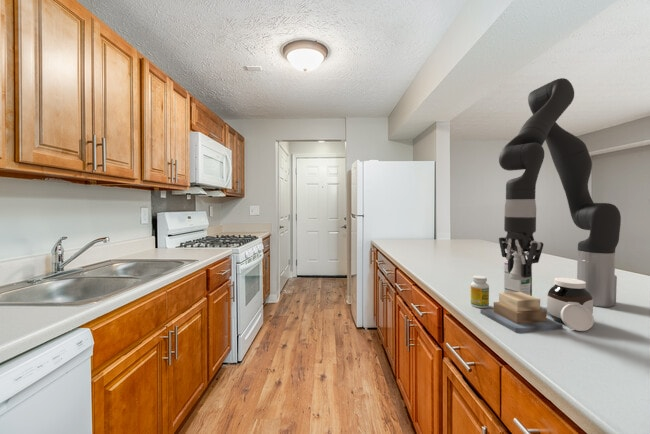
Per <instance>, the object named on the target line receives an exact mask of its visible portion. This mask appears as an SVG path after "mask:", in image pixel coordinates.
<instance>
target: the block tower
mask: <svg viewBox="0 0 650 434" xmlns="http://www.w3.org/2000/svg"><path fill="white" fill-rule="evenodd" d="M547 313H548V311H547V310H546V309H543V308H541V299H540V298H538V297H536V296H533V295H532V296H530V295H527V294H525V293H522V292H512V293H504V292H499V293H498V301H494V302H493V308H488V309H487V308H484V309H480V314H481V315H483V316H485V317H487V318H489V319H490V320H492V321H494V322H496V323H498V324H500V325H501V326H503V327H505V328H507V329H509V330H510V331H512V332H514V333H524V332H534V331H547V330H548V331H549V330H561V329H563V328H564V327H563V326H564V324H563V323H560V322H558V321H556V320H554V319H553V320H552V319H550V318H548V317H547Z"/></svg>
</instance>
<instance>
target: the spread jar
mask: <svg viewBox="0 0 650 434" xmlns="http://www.w3.org/2000/svg"><path fill="white" fill-rule="evenodd" d="M585 288H586V282H584V281H582V280H578V279H577V278H573V277H572V278H571V277H555V278H554V285H553V286H551V288H550V289H549V290H548V292H547V297H546V298H547V299H546V311H547V314H548V315H549V317H551V319H553V321H555V322H557V323H560V324H562V325H565V326H566V327H568V328H569V329H570V330H574V331H579V332H584V331H588V330H589V329H591V328H592V327H593V325H594V324H595V319H594V314H593V313H594V305H593V298H592V295H591V294H590V293H589V291H587V290H586V289H585Z"/></svg>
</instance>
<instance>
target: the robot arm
mask: <svg viewBox="0 0 650 434" xmlns="http://www.w3.org/2000/svg"><path fill="white" fill-rule="evenodd" d="M527 96H528V97H527V103H528V107H529V109H530V112H531V114H532V115H531V116H530V117H529V118H528V119H527V120H526V121H525V123H523V125H522V126H521V128H520V130H519V132H518V134H517V135H516V136H514V137H513V139H512V140H510V141H509V142H508V143H507V144H506V145H505V146H504V147H503V148H502V150H501V151H500V153H499V156H498V163H499V166H500V167H501V168H502V169H503V170H505V171H510V172H511V171H512V172H513V171H522V170H524V172H523V173H522V174H521V175H520V176H518V177H515V178H514V177H513V178H511V179H509V180H507V181H506V184H505V204H504V219H503V220H504V223H503V224H504V227H503V228H504V229H503V230H504V232H506V233H507V234H506V236H504V237H503V236H502V237H499V238H498V243H499V247H500V252H501V257H502V258H506V261H508V273H510V272H511V271H512V269H513V265H514V260H513V259H514V255H513V253H514V251H516V250H517V252H518V254H519V256H521V261H522V269H521V276H522V277H524V278H529V277H530V276H531V265H532V266H533V264H538V263H539V261H540V258H541V255H542V252H543V249H544V243H543V242H541V241H540V242H538V241H536V240H535V238H534V233H536V231H537V204H536V203H537V202H536V187H537V186H536V185H537V181H538V177H539V174H540V170H541V168H542V165H543V163H544V161H545V160H544V159H545V149H544V147H543V146H544V143H545V142H546V144H547V148H548V150H549V153H550V156H551V159H552V160H551V161H552V162H553V165H554V167H555V170H556V172H557V175H558V177H559V179H560V182H561V184H562V187H563V190H564V193H565V196H566V200H567V204H568V208H569V213H570V216H571V219H572V222H573V223H574V225H575V226H576V227H577V228H578V229H581V230H584V231H589V236H588V237H587V238H586V239H584V240H580V241H579V242H578V243H577V262H576V263H577V268H576V270H577V271H576V279H578V280H582V281H584V282H586V288H585V289H586V290H587V291H589V293H590V294H591V295H592V298H593V307H594V306H595V307H602V308H609V307H614V305H617V285H618V284H617V281H618V280H617V279H618V276H617V275H616V274H615V271H616V266H615V265H616V248H617V246H618V244H619V242H620V241H619V240H620V232H621V222H622V220H621V219H622V218H621V212H620V210H619V208H618V206H616V205H614V204H612V203H609V202H594V201H593V199H592V196H591V193H590V191H589V182H590V181H589V180H590V176H591V173H592V169H593V161H592V158H591V155H590V153H589V150H588V146H587V145H586V143H585V142H584V141H583V140H582V139H580V138H579V137H578V136H576V135H574V134H573V133H571V132H570V131H567V130H566V129H564V128H563V127H561V126H560V125H559V124H558V123H557V120H558V119H559V118H560V117H561V116H562V115H563V114H564V112H566V110H567V109H568V107H570V105H571V104H572V103H573V101H574V98H575V89H574V86H573V84H572V83H571V82H570V80H569V79H567V78H564V77H563V78H562V77H561V78H558V79H557V78H556V79H554V80H551V81H550V82H548V83H546V84H544V85H542V86H540V87H537V88H536V89H534V90H532V91H530V92H529V94H528V95H527Z"/></svg>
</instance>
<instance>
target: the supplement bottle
mask: <svg viewBox="0 0 650 434" xmlns="http://www.w3.org/2000/svg"><path fill="white" fill-rule="evenodd" d="M487 280H488V279H487V277H486V276H483V275H473V276H472V282H471V284H470V305H471V306H472V307H474V308H478V309H487V308H489V305H490V285H489V284H488V283H487Z"/></svg>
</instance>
